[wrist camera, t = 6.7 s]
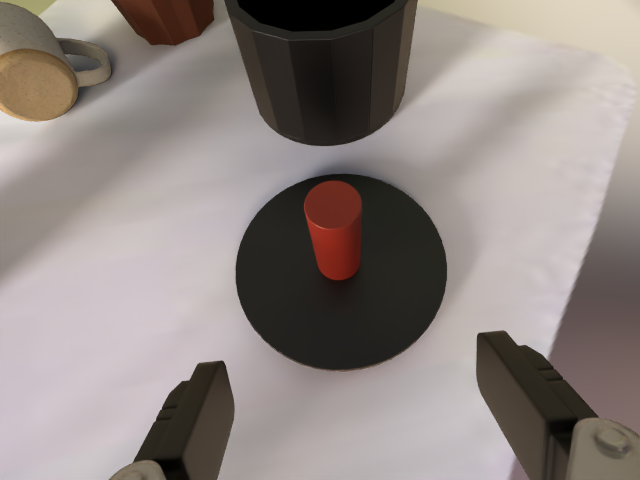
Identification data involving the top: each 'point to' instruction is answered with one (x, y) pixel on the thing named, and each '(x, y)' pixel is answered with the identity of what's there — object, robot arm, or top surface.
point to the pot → (325, 64)
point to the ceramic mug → (41, 67)
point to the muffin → (167, 18)
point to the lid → (341, 272)
